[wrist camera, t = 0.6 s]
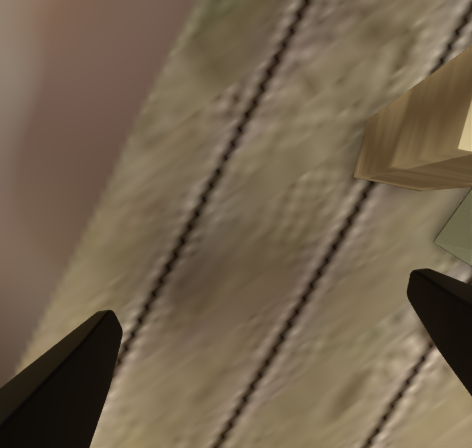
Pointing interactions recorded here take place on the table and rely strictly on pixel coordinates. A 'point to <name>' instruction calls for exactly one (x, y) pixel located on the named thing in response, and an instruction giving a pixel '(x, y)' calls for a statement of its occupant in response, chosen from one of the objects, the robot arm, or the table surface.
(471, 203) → the sage crate
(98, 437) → the table surface
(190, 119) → the table surface
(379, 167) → the pine crate
